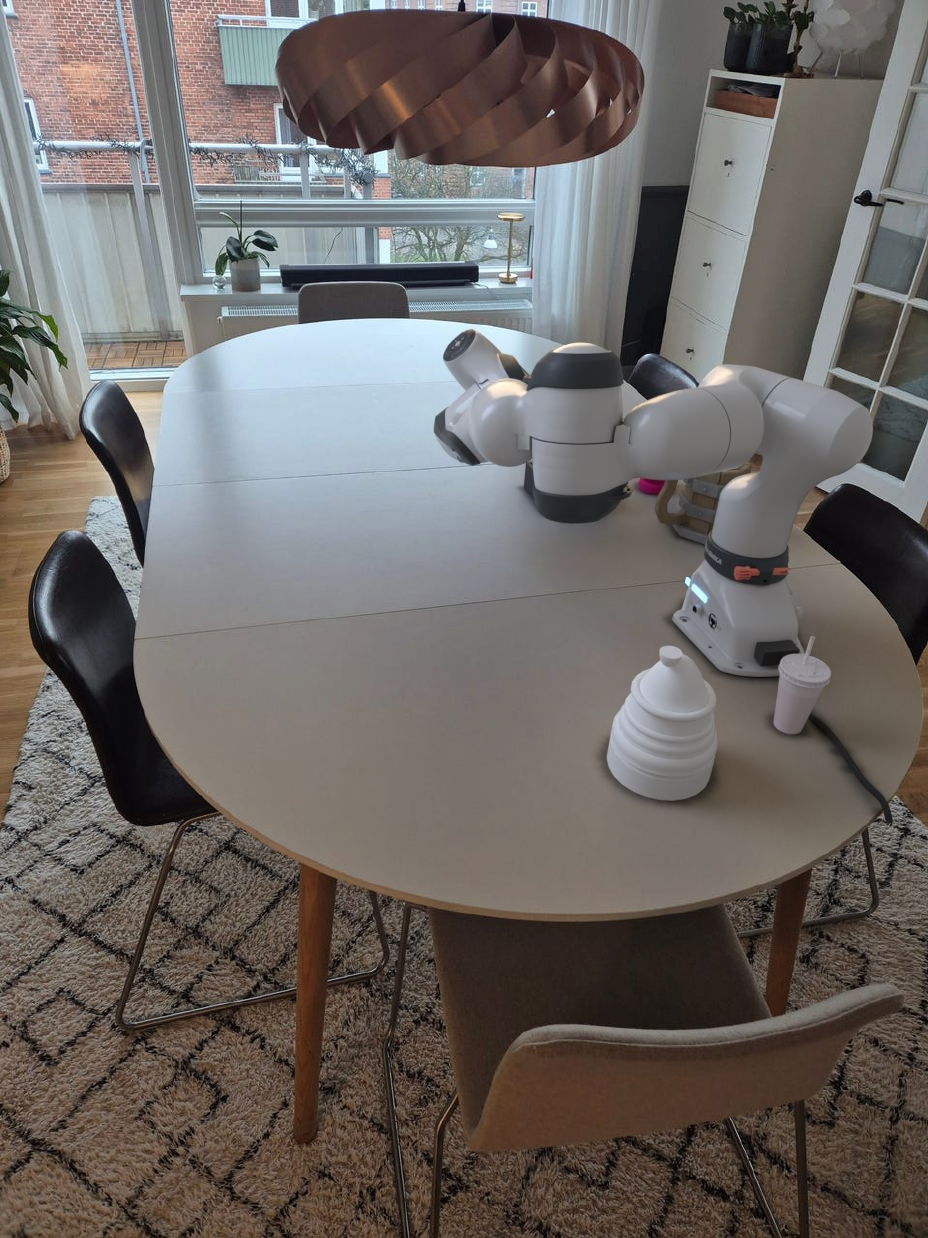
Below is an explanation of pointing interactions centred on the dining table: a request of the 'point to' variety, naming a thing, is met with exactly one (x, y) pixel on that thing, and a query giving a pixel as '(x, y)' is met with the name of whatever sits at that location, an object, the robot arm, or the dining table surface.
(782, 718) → the smoothie
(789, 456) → the robot arm
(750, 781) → the dining table surface
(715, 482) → the tankard
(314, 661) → the dining table surface
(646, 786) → the honey pot
